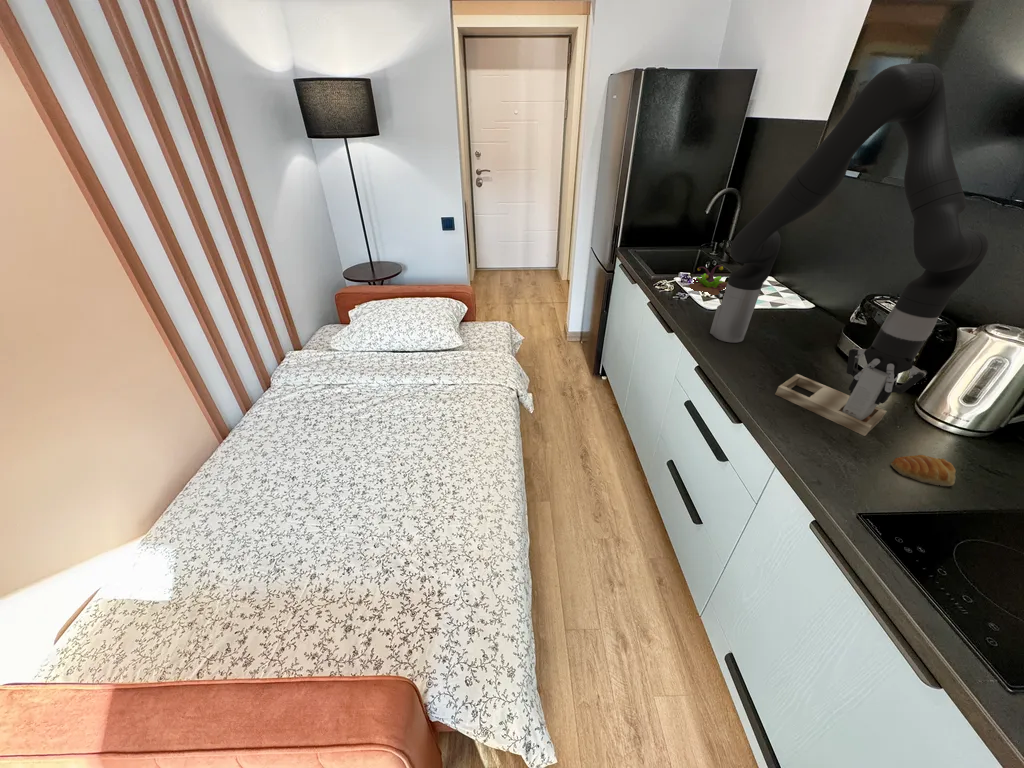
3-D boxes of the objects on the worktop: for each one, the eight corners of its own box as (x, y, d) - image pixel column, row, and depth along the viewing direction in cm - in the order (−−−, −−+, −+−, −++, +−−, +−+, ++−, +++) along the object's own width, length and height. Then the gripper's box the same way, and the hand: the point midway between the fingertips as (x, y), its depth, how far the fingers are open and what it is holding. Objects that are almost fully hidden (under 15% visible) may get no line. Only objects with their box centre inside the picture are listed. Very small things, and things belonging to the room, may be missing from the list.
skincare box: (861, 422, 96) (888, 377, 89) (839, 411, 99) (864, 368, 92) (873, 412, 98) (900, 369, 91) (851, 403, 101) (876, 360, 95)
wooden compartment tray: (775, 394, 108) (778, 386, 106) (793, 381, 113) (797, 373, 111) (864, 436, 94) (870, 427, 93) (881, 419, 99) (886, 411, 98)
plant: (729, 306, 154) (738, 277, 148) (675, 295, 163) (681, 267, 157) (738, 289, 168) (747, 262, 162) (688, 280, 177) (694, 253, 171)
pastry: (898, 481, 83) (908, 467, 81) (882, 458, 89) (891, 444, 87) (954, 489, 82) (966, 476, 79) (934, 465, 87) (944, 452, 85)
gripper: (857, 323, 89) (824, 388, 99) (943, 350, 80) (896, 419, 89) (871, 314, 93) (837, 378, 103) (954, 339, 83) (908, 407, 93)
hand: (865, 397), depth 96 cm, fingers closed on skincare box, 4 cm apart
